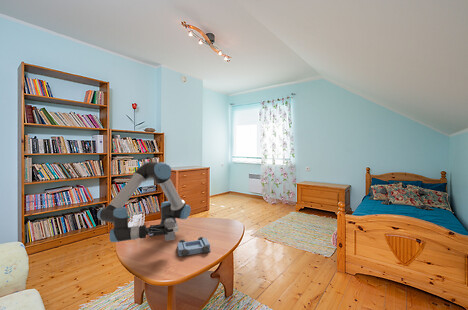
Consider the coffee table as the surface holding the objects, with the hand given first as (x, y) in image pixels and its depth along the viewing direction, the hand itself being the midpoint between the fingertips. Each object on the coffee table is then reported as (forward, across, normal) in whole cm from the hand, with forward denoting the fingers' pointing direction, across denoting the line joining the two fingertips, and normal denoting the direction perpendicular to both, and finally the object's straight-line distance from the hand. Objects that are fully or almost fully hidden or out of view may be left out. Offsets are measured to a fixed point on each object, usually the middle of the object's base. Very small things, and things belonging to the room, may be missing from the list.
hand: (177, 227), depth 137 cm
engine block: (-5, 0, -7) cm, 8 cm away
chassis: (+10, 0, -16) cm, 19 cm away
